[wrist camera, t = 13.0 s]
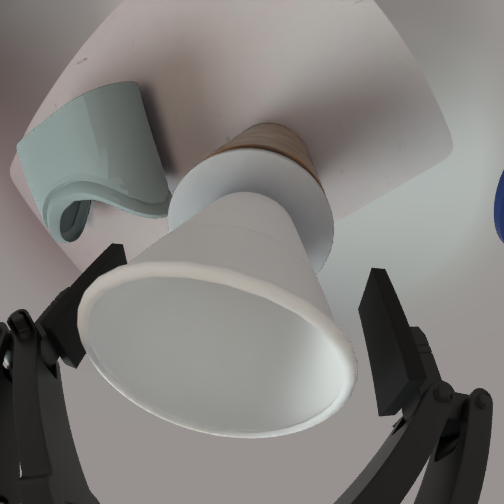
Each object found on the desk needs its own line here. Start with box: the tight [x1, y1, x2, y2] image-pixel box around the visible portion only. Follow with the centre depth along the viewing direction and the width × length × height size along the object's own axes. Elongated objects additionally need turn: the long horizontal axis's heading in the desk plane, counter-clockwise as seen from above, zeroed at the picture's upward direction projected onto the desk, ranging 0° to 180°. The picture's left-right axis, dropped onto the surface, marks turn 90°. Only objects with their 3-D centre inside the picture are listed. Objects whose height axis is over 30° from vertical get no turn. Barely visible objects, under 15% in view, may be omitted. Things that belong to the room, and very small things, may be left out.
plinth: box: [203, 123, 326, 196], centre depth 28 cm, size 11×11×20 cm
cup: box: [77, 192, 358, 438], centre depth 13 cm, size 10×10×11 cm
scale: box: [168, 147, 334, 275], centre depth 19 cm, size 11×11×2 cm
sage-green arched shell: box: [17, 82, 172, 243], centre depth 33 cm, size 22×19×13 cm
